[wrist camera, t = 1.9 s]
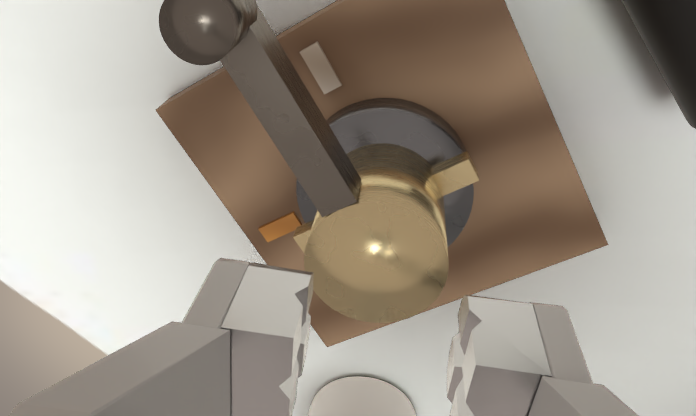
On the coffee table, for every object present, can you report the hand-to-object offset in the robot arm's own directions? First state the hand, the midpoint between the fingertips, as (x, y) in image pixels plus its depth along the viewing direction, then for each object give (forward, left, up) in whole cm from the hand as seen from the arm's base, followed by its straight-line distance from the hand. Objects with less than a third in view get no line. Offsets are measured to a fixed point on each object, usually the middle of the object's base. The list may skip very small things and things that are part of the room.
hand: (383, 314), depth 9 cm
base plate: (-6, +5, -23) cm, 24 cm away
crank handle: (-2, +5, -19) cm, 19 cm away
